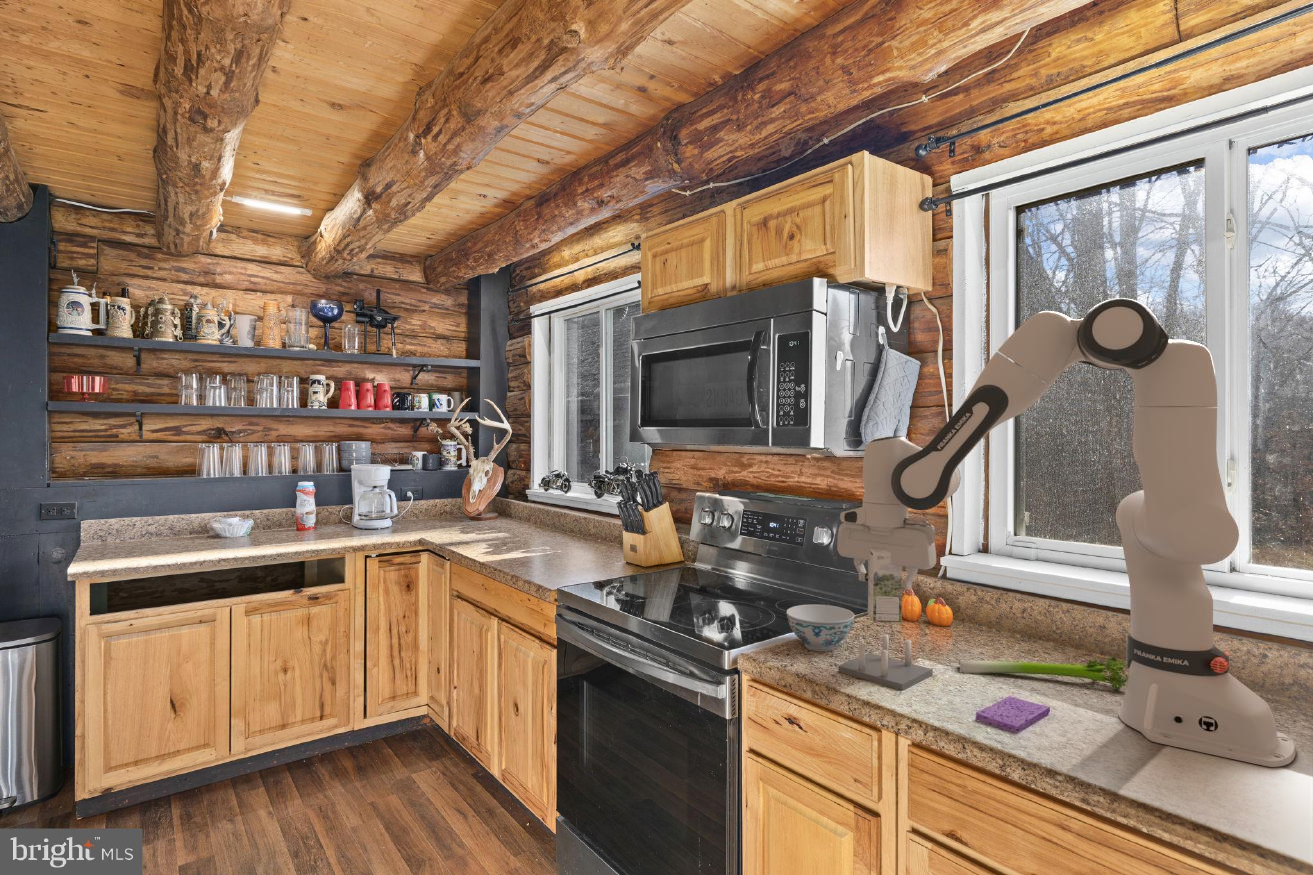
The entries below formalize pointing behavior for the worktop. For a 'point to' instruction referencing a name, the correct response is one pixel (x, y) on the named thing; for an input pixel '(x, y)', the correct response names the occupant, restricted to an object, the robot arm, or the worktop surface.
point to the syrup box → (884, 587)
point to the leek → (1052, 669)
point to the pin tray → (886, 667)
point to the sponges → (1012, 714)
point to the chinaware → (820, 625)
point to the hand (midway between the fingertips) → (884, 584)
